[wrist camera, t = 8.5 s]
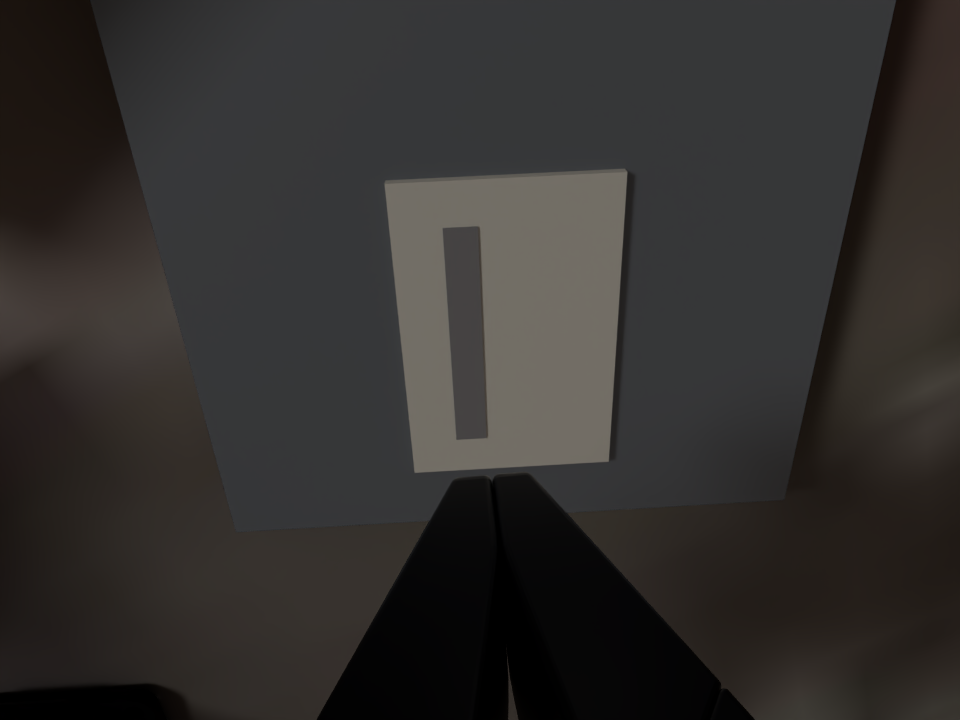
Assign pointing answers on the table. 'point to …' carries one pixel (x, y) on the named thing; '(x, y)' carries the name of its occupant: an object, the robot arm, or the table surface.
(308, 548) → the table surface
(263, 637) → the table surface
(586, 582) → the robot arm
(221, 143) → the label board
